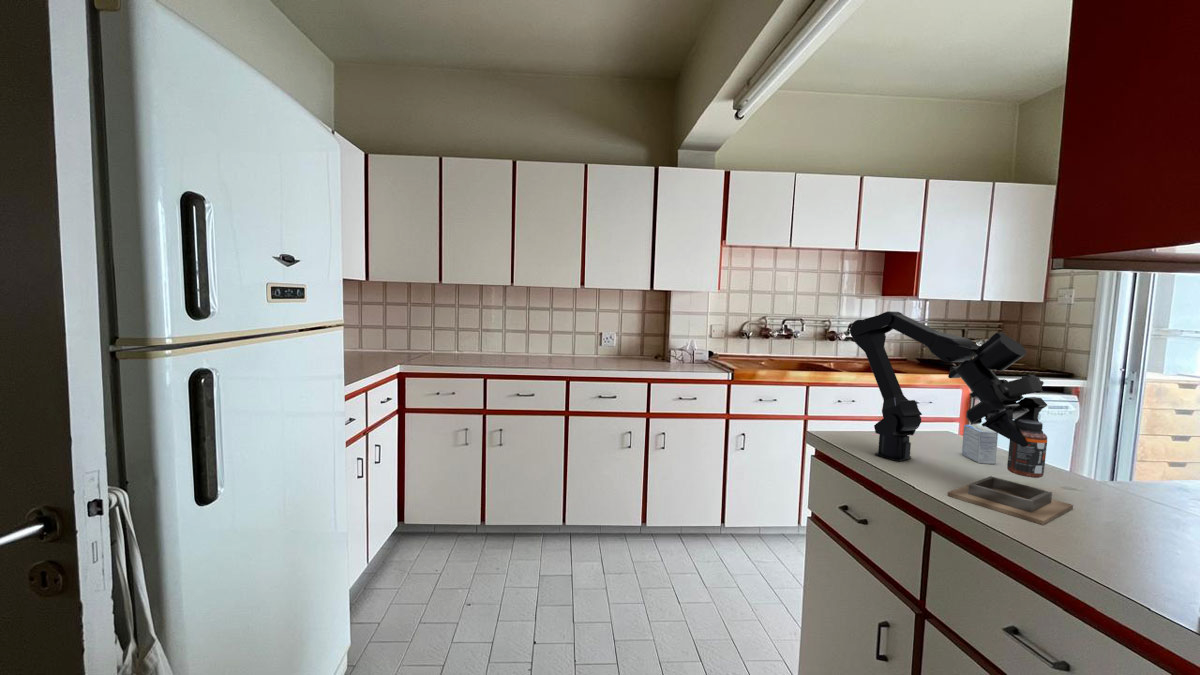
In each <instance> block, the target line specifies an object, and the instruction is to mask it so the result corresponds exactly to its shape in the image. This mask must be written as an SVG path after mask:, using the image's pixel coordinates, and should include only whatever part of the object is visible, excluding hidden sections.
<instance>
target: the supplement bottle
mask: <svg viewBox="0 0 1200 675" xmlns="http://www.w3.org/2000/svg"><path fill="white" fill-rule="evenodd" d="M1043 425H1044V424H1043V422H1040V421H1039V422H1037V421H1032V420H1022V419H1020V420H1018V423H1017V426H1018V428H1019V430H1020V431H1021V433H1022V434H1023V436H1024V437H1025V439H1026V441H1027V442H1028V446H1026V447H1022V446H1020V445H1019V444H1017V443H1015V442H1013V441H1011V440H1010V439H1009V444H1008V452H1007V453H1008V454H1007V456H1008V457H1007V464H1006V465H1007V467H1006V468H1007V470H1008V472H1010V473H1012V474H1014V475H1017V476H1021V477H1027V478H1033V479H1038V478H1039V479H1040V478H1042V477H1044V473H1045V465H1046V455H1047V446H1048V436H1047V435H1046V433H1044V431H1043V429H1044V428H1043V427H1044V426H1043Z"/></svg>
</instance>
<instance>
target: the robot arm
mask: <svg viewBox="0 0 1200 675" xmlns="http://www.w3.org/2000/svg"><path fill="white" fill-rule="evenodd" d="M893 330H895V331H897V332H899V333H901V334H902V335H904V336H906V337H908V338H910V339H912V340H914V341H916V342H918V343H921V344H922V345H924V346H925V347H927V348H928V350H929V352H930V353H931V354H932V355H934V356H935V357H936V358H938V359H939V360H941V361H942V362H945V363H960V364H958V366H950V367H949V373H948V376H947V377H948V378H949V379H961V380H962V381H963V382H964V383H965V385H966V386H967V387H968V388H969V389H970V390H971V393H970V394H969V395H970V397H971V398H972V399H978V401H979V402H978V403H977V404H975V405H974V406H972V407H971V408H969V409H968V410H966V416H965V418H966V420H968V421H969V424H970V423H971V424H970V425H979V424H981V426H983V427H986V428H989V429H991V430H993V431H995V432H997V433H998V435H1001V436H1002V437H1005V438H1006V439H1008V440H1009V441H1010V440H1011V441H1013V442H1015V443H1017V444H1019V445H1020V446H1022V447H1026V446H1028V442H1027V441H1026V439H1025V437H1024V436H1023V434H1022V433H1021V431H1020V430H1019V428H1018V426H1017V423H1018V420H1020V419H1022V420H1032V421H1037V422H1040V421H1039V414H1040V412H1042V410H1043V409H1045V408H1047V407H1048V404H1047V402H1045V401H1044V399H1043V398H1042V397H1039V396H1038V397H1037V396H1030V397H1029V396H1028V397H1024V396H1025V395H1029V394H1034V393H1037V394H1038V393H1043V388H1042V387H1043V385H1044V384H1045V383H1044V380H1041V379H1040V377H1038V376H1036V375H1035V374H1028V375H1023V376H1021V377H1020V378H1018V379H1013V380H1010V381H1008V379H1005V378H1004V379H1001V378H1000V379H999V377H998V376H997V375H996V374H995V373H994V371H999V372H1002V371H1005V370H1006V369H1008V368H1009V367H1010V366H1012V365H1013V364H1014V363H1016V362H1018V361H1019V360H1020V359H1022V358H1023V357H1025V356H1026V355H1027V351H1026V349H1025V347H1024V346H1023V345H1022V343H1020V342H1018V341H1016V340H1014V339H1013V338H1011V337H1010V336H1007V335H1006V334H1005V333H1004V332H996V333H994V334H993V335H992V336H990V338H989V339H988V340H987V341H985V342H984V343H982V344H981V345H979V344H975V342H974V341H972V340H971V339H970V338H967V337H963V336H958V335H955V334H951V333H945V332H941V331H938V330H936V329H934V328H932V327H930V326H928V325H926V324H924V323H921V322H919V321H917V320H915V319H913V318H910V317H908V316H906V315H905V314H903V313H902V312H899V311H885V312H882V313H880V314H878V315H875V316H871V317H867V318H864V319H857V320H856V319H855V321H853V322H852V324H851V326H850V328H849V333H850V336H851V338H852V339H853V342H854V343H855V344H856V345H857V346H858V347H859V348H860V349H861V350H862V351H863V352H864V353H865V356H866V358H867V361H868V363H869V366H870V369H871V372H872V374H873V376H874V380H875V381H876V384H877V388H878V389H879V392H880V394H881V395H880V396H882V400H883V403H882V407H881V408H882V409H881V414H882V419H880V420H879V421H877V423H875V424H874V426H873V427H874V432H875V434H877V435H879V436H878V449H877V450H878V451H877V452H874V455H875V456H877V455H879V456H878V457H881V456H882V457H881V458H884V457H886V458H885V459H888V458H889V459H888V460H892V461H895V460H896V461H895V462H901V461H905V460H910V459H912V456H911V445H912V442H910V436H915V435H914V434H916V433H915V432H916V430H917V429H919V427H920V425H921V424H922V418H921V416H922V415H923V414H922V412H921V411H920V409H919V406H918V403H917V401H916V400H915V399H908V398H907V397H906V396H905V395H904V393H903V390H902V388H901V385H900V383H899V380H898V378H897V375H896V373H895V371H894V367H893V365H892V363H891V360H890V359H889V356H888V353H887V351H886V348H885V344H886V339H887V338H886V334H887V333H890V332H891V331H893ZM983 418H984V420H985V422H983V421H982V420H983Z"/></svg>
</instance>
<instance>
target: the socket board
mask: <svg viewBox="0 0 1200 675" xmlns="http://www.w3.org/2000/svg"><path fill="white" fill-rule="evenodd" d="M947 497H951V498H954V499H957V500H960V501H963V502H967V503H970V504H973V505H975V506H980V507H983V508H986V509H990V510H993V511H996V512H999V513H1003V514H1004V515H1005V514H1006V515H1009V516H1012V517H1016V518H1019V519H1022V520H1025V521H1028V522H1032V523H1035V524H1038V525H1042V526H1043V525H1046V524H1048V523H1050V522H1051V521H1052V520H1055V519H1057V518H1059V517H1060V516H1063V515H1064V514H1067V512H1069V511H1072V510H1073V509H1074V504H1071V503H1068V502H1064V501H1059V500H1057V499H1053V498H1052V497H1053V492H1052V491H1049V490H1045V489H1041V488H1037V487H1033V486H1029V485H1026V484H1021V483H1018V482H1014V481H1011V480H1007V479H1003V478H1000V477H999V478H998V477H995V476H991V475H990V476H988V477H985V478H981V479H978V480H977V481H974V482H971V483H969V484H967V485H964V486H963V485H962V486H961V487H958V488H956V489H953V490H950V491H948V492H947Z"/></svg>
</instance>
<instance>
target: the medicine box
mask: <svg viewBox="0 0 1200 675" xmlns="http://www.w3.org/2000/svg"><path fill="white" fill-rule="evenodd" d="M998 439H999V433H997V432H995V431H993V430H991V429H989V428H987V427H983V426H982V425H979V424H963V435H962V447H961V455H963V456H965V458H966V457H967V458H968V459H970V460H972V461H974V462H976V463H978V464H986V465H987V464H988V465H997V453H998V451H997V450H998Z"/></svg>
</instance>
